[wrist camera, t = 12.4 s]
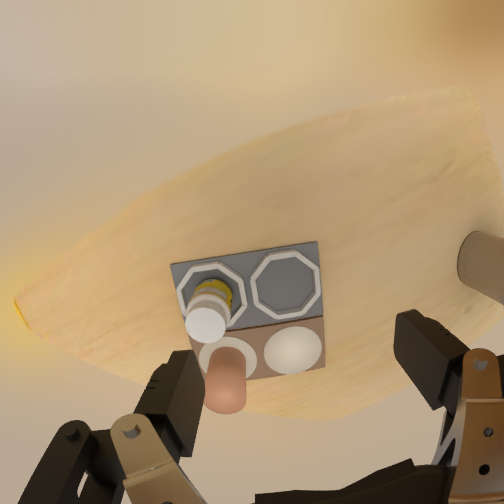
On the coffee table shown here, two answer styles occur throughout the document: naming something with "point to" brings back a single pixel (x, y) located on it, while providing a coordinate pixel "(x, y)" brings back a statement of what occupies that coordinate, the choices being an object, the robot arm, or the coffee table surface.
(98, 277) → the coffee table surface
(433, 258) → the coffee table surface
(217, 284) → the supplement bottle
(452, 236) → the coffee table surface
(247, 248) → the coffee table surface
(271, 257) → the board
